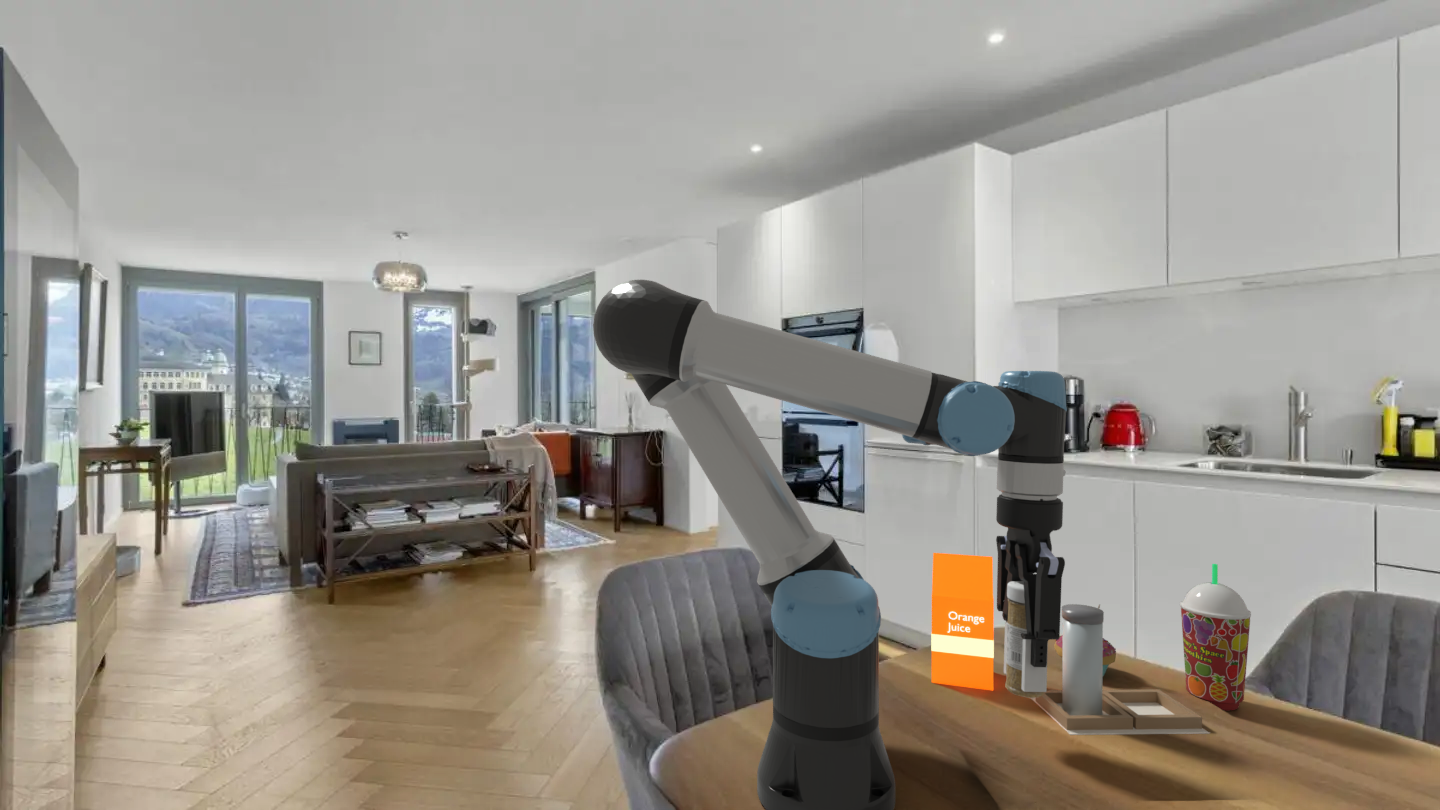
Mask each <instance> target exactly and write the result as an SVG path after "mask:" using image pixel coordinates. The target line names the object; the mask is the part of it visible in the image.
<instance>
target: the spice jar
mask: <svg viewBox="0 0 1440 810" xmlns="http://www.w3.org/2000/svg"><path fill="white" fill-rule="evenodd" d="M1007 597H1008V621H1007V654H1006V662H1007V675H1006V681H1005V685H1004V686H1005V689H1007V691H1008V692H1010V693H1011V694H1013V695H1015V696H1019V697H1023V698H1028V699H1031V698H1035V697H1041V696H1042V695H1043V694H1044V692H1024V691H1023V690H1022V689H1021V687H1022V651H1023V639H1022V637H1021V633H1024V634H1027V626H1026V612H1025V598H1024V584H1023V581H1011V582H1009V583H1008V584H1007Z"/></svg>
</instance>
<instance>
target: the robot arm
mask: <svg viewBox="0 0 1440 810" xmlns="http://www.w3.org/2000/svg"><path fill="white" fill-rule="evenodd" d="M592 324H593V325H592V327H593V328H592V329H593V330H592V331H593V336H594V340H595V344H596V346H597V348H598V351H599V352H600V353H601V355H602V356H603V358H604V359H606V361H607V362H608V363H609V364H610V365H612V366H613V367H615V368H616V369H617V370H620V371H622V372H625V373H628V374H631V376H632V377H633V379H634V380H635V382H636V384H637V385H638V387H639V389H640V390H641V392H642V393H643V395H644V397H645V399H646V400H647V402H648V403H649V405H650V406H653V407H655V408H656V407H657V408H661V409H664V410H666V412H667V414H669V416H670V418H671V420H672V421H673V423H674V425H675V426H676V427H677V429H678V431H679V433H680V435H681V436H682V438H683V440H684V441H685V443H686V445H687V446H688V448H689V450H690V451H691V453H692V454H693V457H694V458H695V460H696V461H697V462H698V464H699V466H700V468H701V470H702V471H703V472H704V474H705V476H706V478H707V479H708V481H709V482H710V484H711V486H712V487H713V489H714V491H715V492H716V494H717V496H718V497H719V499H720V501H721V502H722V504H723V505H724V506H723V507H725V509H726V511H727V512H728V514H729V516H730V517H731V519H732V520H733V522H734V524H735V525H736V527H737V529H738V531H739V532H740V534H741V536H742V537H743V539H744V541H745V542H746V544H747V545H748V547H749V549H750V550H751V552H752V553H753V556H754V557H755V559H756V560H757V562H758V564H759V571H758V574H757V578H756V582H757V584H758V586H759V588H760V589H761V591H762V593H763V594H764V596H765V598H766V599H767V601H768V604H769V605H770V606H771V610H770V616H771V617H770V619H771V622H772V680H773V681H772V723H771V725H770V729H769V732H768V735H767V738H766V741H765V745H764V746H763V750H762V753H761V756H760V760H759V762H758V766H757V775H756V780H757V781H756V782H757V783H756V784H757V788H756V791H757V796H758V797H757V798H758V800H759V801H760V804H761V805H762V806H763V808H764V809H765V810H894V809H895V807H896V780H895V775H894V772H893V768H892V765H891V763H890V759H889V756H888V753H887V750H886V747H885V743H884V740H883V737H882V733H881V730H880V723H879V721H880V718H879V717H880V712H879V711H880V696H879V695H880V693H879V692H880V690H879V689H880V684H879V683H880V675H879V674H880V671H879V670H880V666H879V665H880V653H879V652H880V650H879V649H880V644H879V643H880V642H879V641H880V627H881V625H882V623H881V621H882V614H881V610H880V607H879V598H878V597H879V596H878V595H877V592H876V591H875V589H874V587H873V586H872V585H871V584H870V583H869V582H867V581H866V580H865V579H864V578H863V576H862V574H861V573H860V571H859V570H857V569H856V568H855V567H854V565H852V564H851V563H850V562H849V561H848V558H847V557H846V556H845V555H844V553H843V551H842V550H841V548H840V546H839V544H838V543H837V541H836V540H835V537H833V535H832V534H828V533H824V532H820V531H818V530H817V529H815V527H814V526H813V524H812V523H811V521H810V520H809V518H808V516H807V514H806V513H805V511H804V509H803V508H802V506H801V505H800V503H799V501H798V500H797V498H796V496H795V494H794V493H793V492H792V490H791V488H790V486H789V485H788V483H787V482H786V480H785V478H784V477H783V475H782V473H781V471H780V470H779V468H778V467H777V465H776V464H775V463H774V460H773V459H772V457H771V456H770V454H769V452H768V451H767V449H766V447H765V445H764V444H763V442H762V441H761V439H760V438H759V436H758V435H757V433H756V431H755V430H754V428H753V426H752V425H751V423H750V422H749V420H748V418H747V416H746V415H745V413H744V412H743V410H742V408H741V407H740V405H739V403H738V402H737V400H736V398H735V396H734V395H733V394H732V392H731V390H730V389H729V387H733V388H738V389H741V390H745V391H747V392H751V393H754V394H758V395H761V396H766V397H769V398H772V399H776V400H778V401H783V402H785V403H790V404H793V405H797V406H800V407H804V408H808V409H811V410H815V411H818V412H822V413H824V414H825V413H826V414H829V415H833V416H835V417H836V416H837V417H840V418H842V419H846V420H850V421H853V422H856V423H861V424H865V425H867V426H870V427H875V428H879V429H881V430H885V431H888V432H892V433H896V434H899V435H901V437H902V439H903V440H904V441H905V442H906V443H908V444H917V445H923V446H931V445H935V446H940V447H942V448H947V449H950V450H952V451H954V452H956V453H958V454H962V455H966V456H971V457H972V456H973V457H974V456H981V455H987V454H990V453H992V452H995V451H998V454H997V465H996V466H997V471H996V489H997V491H999V492H1001V494H999V495H998V496H997V497H996V518H995V519H996V523H997V524H998V525H1000V526H1002V527H1004V528H1007V532H1006V535H997V536H996V539H995V541H996V542H995V543H996V550H997V573H996V574H997V575H996V577H997V579H996V581H997V582H996V610H997V611H998V612H1002V614H1001V615H1002V619H1003V621H1005V622H1004V640H1003V641H1004V645H1003V648H1004V650H1003V651H1004V652H1003V674H1004V675H1005V676H1007V662H1006V654H1007V621H1008V597H1007V584H1008V583H1009V582H1011V581H1023V584H1024V598H1025V612H1026V626H1027V634H1024V633H1021V637H1022V639H1023V651H1022V687H1021V689H1022V690H1023V691H1024V692H1046V690H1048V689H1047V688H1048V687H1047V682H1048V655H1049V654H1048V652H1049V650H1048V649H1049V647H1048V646H1049V640H1055V641H1056V640H1058V639H1059V637H1060V636H1061V635H1060V632H1061V629H1060V628H1061V611H1062V606H1061V604H1062V583H1063V582H1062V581H1063V580H1062V579H1063V573H1064V570H1065V565H1066V560H1065V558H1064V557H1063V556H1055V555H1054V553H1052V551H1053V547H1052V540H1051V534H1052V532H1056V531H1059V530H1061V529H1062V527H1063V517H1064V515H1063V513H1064V502H1063V501H1062V500H1061V498H1058V496H1060V495H1062V494H1064V477H1065V476H1066V470H1065V468H1064V460H1065V457H1064V456H1065V453H1064V452H1065V440H1066V439H1065V436H1066V435H1065V433H1066V417H1067V416H1066V415H1067V411H1068V407H1067V393H1066V392H1067V390H1066V381H1065V378H1064V376H1063V375H1062V374H1060V373H1059V372H1056V371H1050V370H1049V371H1048V370H1007V371H1003V373H1001V374H1000V378H999V382H998V385H990V384H988V383H985V382H982V381H977V380H972V381H966V380H962V379H959V378H955V377H952V376H948V375H945V374H941V373H936V372H932V371H931V370H927V369H923V368H920V367H916V366H912V365H908V364H905V363H901V362H897V361H893V360H890V359H886V358H883V357H879V356H876V355H872V354H868V353H864V352H861V351H858V350H854V349H850V348H846V347H842V346H838V345H835V344H832V343H828V342H824V341H821V340H817V339H814V338H810V337H806V336H802V335H799V334H795V333H791V332H788V331H784V330H782V329H781V330H780V329H776V328H773V327H769V326H765V325H762V324H758V323H754V322H752V321H747V320H744V319H739V318H736V317H733V316H729V315H726V314H722V313H718V312H715V311H714V310H713V308H712V306H711V305H710V303H709V301H707V300H704V299H700V298H698V297H693V296H689V295H687V294H684V293H681V292H679V291H677V290H674V289H671V288H669V287H667V286H665V285H663V284H661V283H659V282H657V281H653V280H650V279H649V280H647V279H634V280H633V279H631V280H628V281H623V282H622V283H619V284H618V285H616V286H614V287H612V288H611V289H610V290H609V291H608V292H607V293H605V295H603V296H602V298H601V300H600V302H599V303H598V305H597V307H596V310H595V313H594V317H593V323H592Z"/></svg>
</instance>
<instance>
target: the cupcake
mask: <svg viewBox="0 0 1440 810" xmlns="http://www.w3.org/2000/svg"><path fill="white" fill-rule="evenodd" d="M1097 608H1098V609H1101V604H1098V606H1097ZM1053 647H1054V651H1055V652H1056V654H1057V655H1058V656H1059V657H1061V658H1062V656H1063V634H1062V635H1060V636H1059V639H1058V640H1056V639H1055V642H1054V646H1053ZM1116 655H1117V651H1116V647H1114V646H1113V644H1111V642H1109V640H1107V639H1105V638H1104V637H1103V677H1104V676H1105V675H1106V672H1107V669H1108V668H1109V665H1111V664H1113V663H1115V662H1116V659H1117V657H1116Z"/></svg>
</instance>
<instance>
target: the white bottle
mask: <svg viewBox="0 0 1440 810" xmlns="http://www.w3.org/2000/svg"><path fill="white" fill-rule="evenodd" d="M1104 613H1105V612H1104V611H1103V610H1102V609H1101V608H1099V609H1098V607H1095V606H1091V605H1087V604H1077V603H1075V604H1074V603H1072V604H1071V603H1069V604H1064V605H1062V606H1061V617H1062V635H1063V656H1062V657H1061V659H1062V668H1061V669H1062V675H1061V676H1062V678H1061V679H1062V681H1061V682H1062V684H1061V685H1062V689H1061V690H1062V709H1063V710H1064V711H1065V712H1067V713H1068V714H1069V715H1070V716H1071V715H1102V690H1103V678H1104V676H1103V638H1104V636H1103V633H1104V630H1103V628H1104V625H1103V623H1104V617H1105V616H1104Z"/></svg>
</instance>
